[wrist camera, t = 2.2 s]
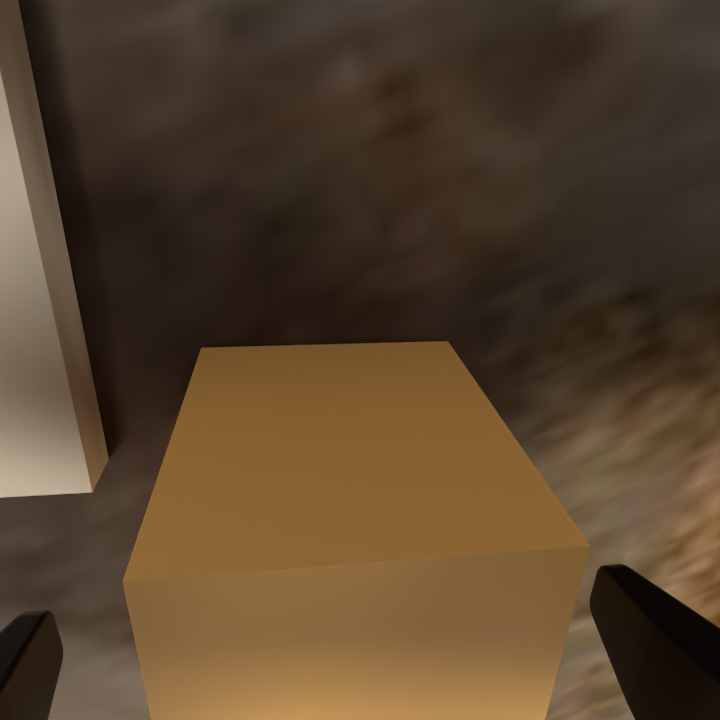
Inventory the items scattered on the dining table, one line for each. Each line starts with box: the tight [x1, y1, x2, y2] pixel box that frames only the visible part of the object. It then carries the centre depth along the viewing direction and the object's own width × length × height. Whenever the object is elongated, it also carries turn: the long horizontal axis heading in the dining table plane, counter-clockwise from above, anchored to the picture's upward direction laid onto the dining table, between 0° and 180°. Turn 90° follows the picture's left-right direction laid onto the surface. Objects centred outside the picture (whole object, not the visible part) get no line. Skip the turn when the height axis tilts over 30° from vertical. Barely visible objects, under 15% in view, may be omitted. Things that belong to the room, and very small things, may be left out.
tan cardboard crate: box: [122, 341, 590, 720], centre depth 10 cm, size 5×5×6 cm
